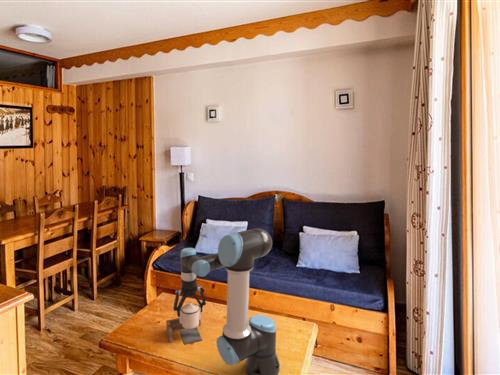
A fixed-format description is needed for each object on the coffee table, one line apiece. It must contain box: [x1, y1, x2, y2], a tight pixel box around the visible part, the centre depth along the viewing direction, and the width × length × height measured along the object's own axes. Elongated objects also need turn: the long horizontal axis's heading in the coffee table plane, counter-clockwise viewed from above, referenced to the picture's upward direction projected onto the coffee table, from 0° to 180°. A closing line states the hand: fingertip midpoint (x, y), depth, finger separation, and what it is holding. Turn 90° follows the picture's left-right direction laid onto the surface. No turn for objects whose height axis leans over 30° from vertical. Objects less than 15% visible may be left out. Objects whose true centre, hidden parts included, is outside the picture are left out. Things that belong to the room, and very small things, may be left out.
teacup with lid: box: [181, 302, 199, 329], centre depth 166 cm, size 12×9×12 cm
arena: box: [165, 317, 203, 346], centre depth 168 cm, size 16×18×6 cm
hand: (190, 320), depth 167 cm, fingers closed on teacup with lid, 9 cm apart
